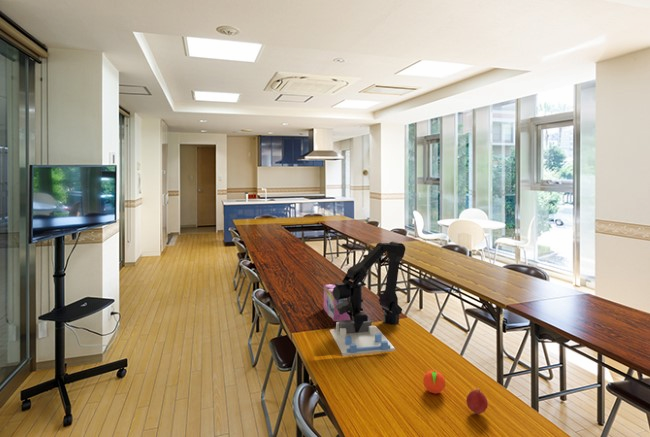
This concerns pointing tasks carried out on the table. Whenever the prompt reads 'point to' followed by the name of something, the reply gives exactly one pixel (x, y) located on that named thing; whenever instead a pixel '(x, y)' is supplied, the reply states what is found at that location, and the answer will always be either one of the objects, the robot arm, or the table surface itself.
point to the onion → (477, 401)
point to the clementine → (434, 381)
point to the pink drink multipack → (333, 304)
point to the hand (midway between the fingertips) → (355, 329)
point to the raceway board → (361, 341)
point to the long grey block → (351, 327)
